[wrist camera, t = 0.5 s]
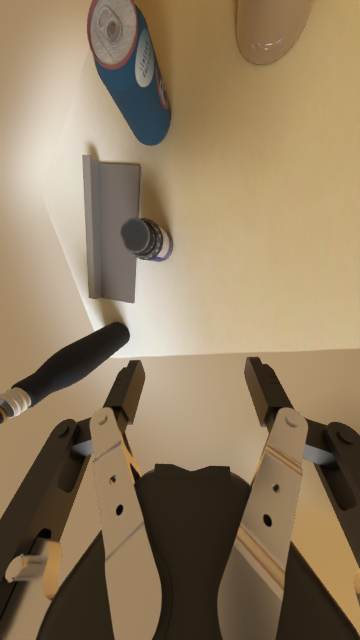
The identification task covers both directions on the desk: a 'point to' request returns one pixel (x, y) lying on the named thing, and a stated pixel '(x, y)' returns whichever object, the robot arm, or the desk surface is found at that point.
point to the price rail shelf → (110, 227)
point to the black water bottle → (63, 369)
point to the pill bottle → (146, 239)
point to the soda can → (129, 67)
